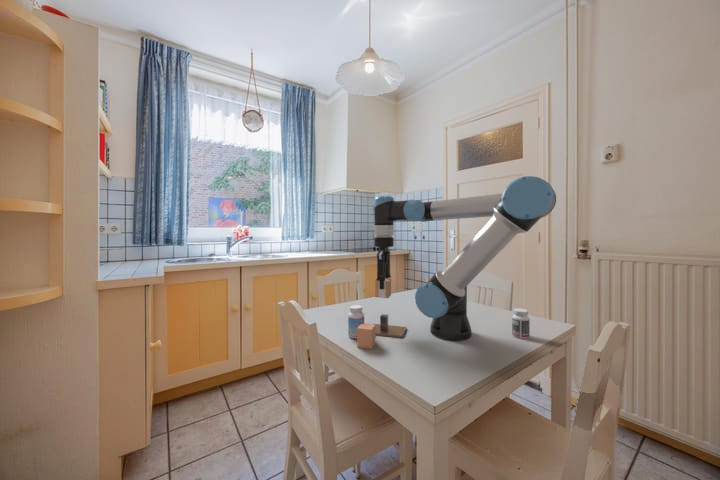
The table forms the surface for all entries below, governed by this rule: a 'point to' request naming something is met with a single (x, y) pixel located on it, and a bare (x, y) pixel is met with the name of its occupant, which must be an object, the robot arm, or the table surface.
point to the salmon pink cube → (388, 288)
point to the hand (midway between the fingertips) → (383, 295)
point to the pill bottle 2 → (520, 324)
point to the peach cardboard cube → (366, 336)
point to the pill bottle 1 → (355, 320)
